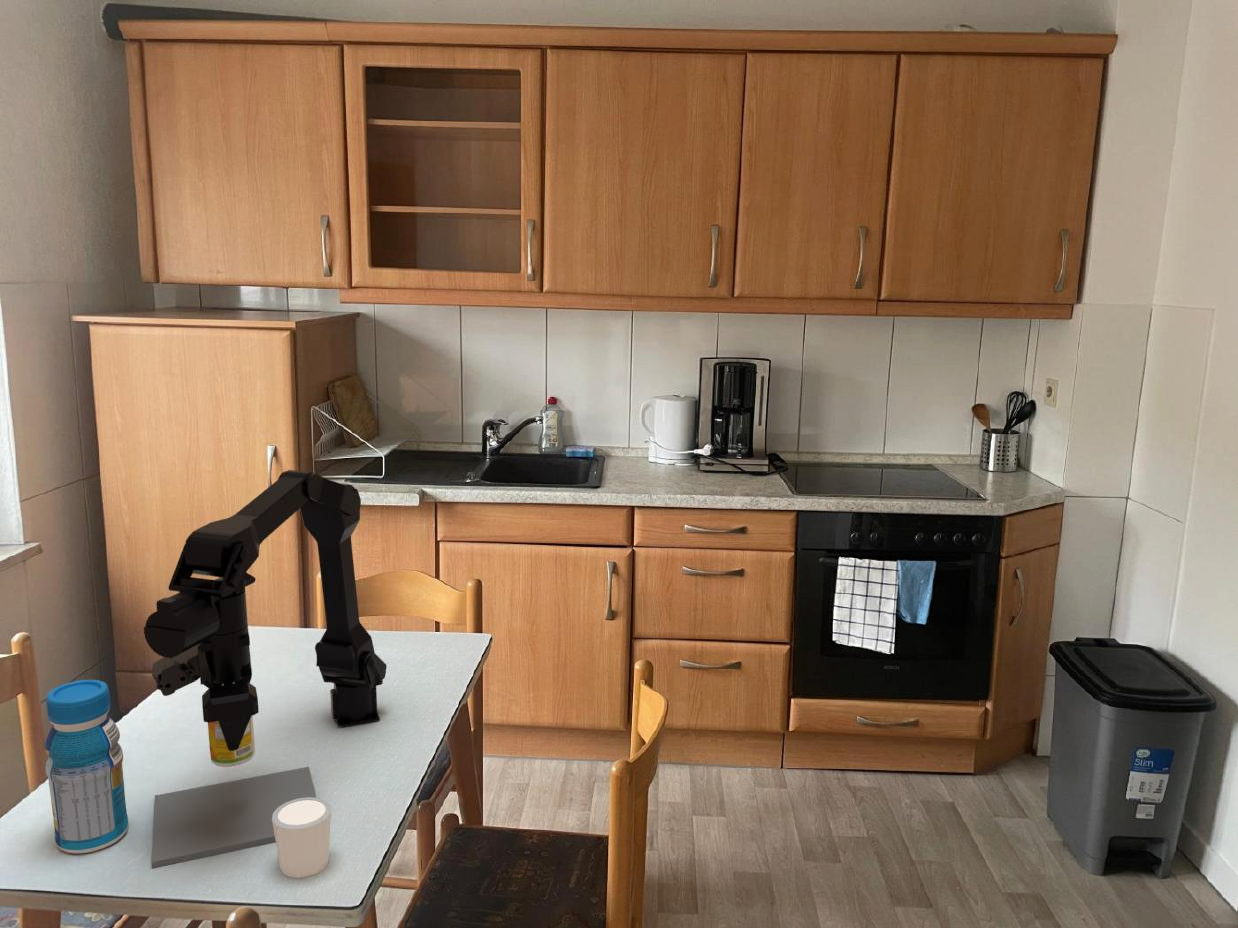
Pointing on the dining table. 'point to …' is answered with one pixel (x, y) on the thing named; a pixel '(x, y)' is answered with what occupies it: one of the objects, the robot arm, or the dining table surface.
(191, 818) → the charcoal mat
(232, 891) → the dining table surface
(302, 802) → the cream cup
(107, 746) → the beverage bottle
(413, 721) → the dining table surface
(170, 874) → the dining table surface
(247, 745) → the supplement bottle
